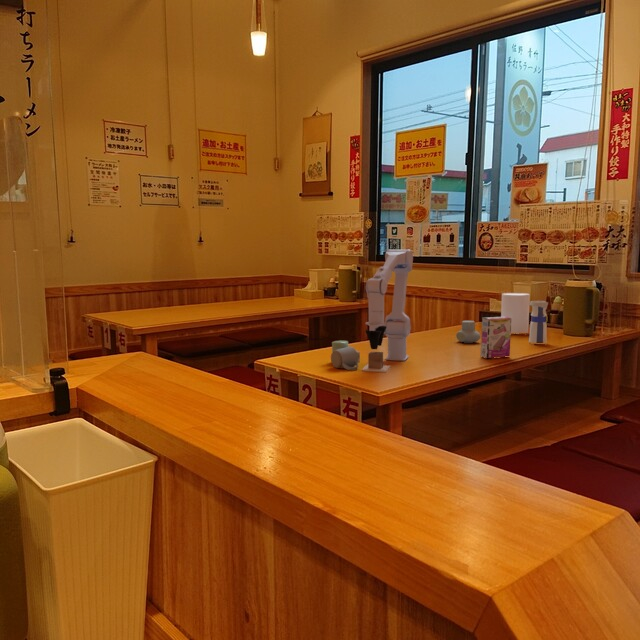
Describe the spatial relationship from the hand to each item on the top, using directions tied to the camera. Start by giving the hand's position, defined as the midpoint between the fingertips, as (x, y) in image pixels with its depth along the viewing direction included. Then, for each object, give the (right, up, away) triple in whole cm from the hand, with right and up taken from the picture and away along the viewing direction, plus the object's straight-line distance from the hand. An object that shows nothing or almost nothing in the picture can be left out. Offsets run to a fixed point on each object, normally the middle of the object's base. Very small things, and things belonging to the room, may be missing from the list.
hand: (376, 347), depth 220 cm
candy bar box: (+50, -5, +21) cm, 55 cm away
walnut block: (0, -8, +1) cm, 8 cm away
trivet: (0, -8, +1) cm, 8 cm away
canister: (+79, +3, +85) cm, 117 cm away
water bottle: (+79, -1, +53) cm, 96 cm away
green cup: (-13, -7, +14) cm, 20 cm away
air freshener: (+48, -1, +58) cm, 75 cm away
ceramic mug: (-11, -8, +3) cm, 14 cm away
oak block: (-7, -6, +16) cm, 19 cm away
